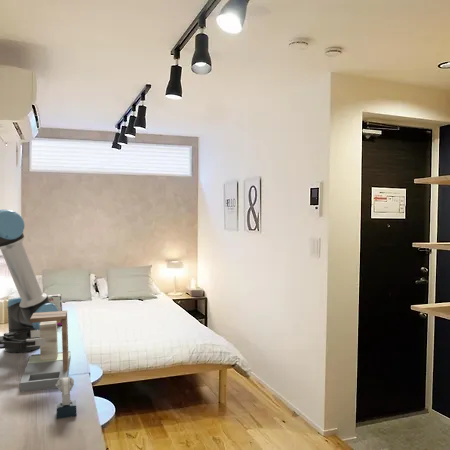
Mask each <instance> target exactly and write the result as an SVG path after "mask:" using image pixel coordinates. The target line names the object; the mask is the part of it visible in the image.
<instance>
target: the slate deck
mask: <svg viewBox="0 0 450 450" xmlns="http://www.w3.org/2000/svg"><path fill="white" fill-rule="evenodd" d="M68 356H69V363H68V370H67V371H63V351H58V357H57V359H52V360H42V361H41V355H40V353H38V354H31V355H30V357H29V359H28V361H27V365H26V366H25V369H24V372H23V375H22V376H21V379H20V382H19V392H20V393H22V392H30V391H31V392H32V391H39V390H48V389H56V388H57V389H58V387H56V384H57V382H58V380H59V379H61V378H63V377H69V372H70V366H71V365H70V364H71V351H70V350H68Z"/></svg>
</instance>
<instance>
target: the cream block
mask: <svg viewBox="0 0 450 450" xmlns="http://www.w3.org/2000/svg"><path fill="white" fill-rule="evenodd" d="M40 338H45V345H43V346H40V348H39V349H40V351H39V352H40V353H39V354H40V355H41V361H42V360H52V359H57V357H58V352H59V350H58V349H59V348H58V347H59V346H58V326H57V321H48V322H41V323H40Z"/></svg>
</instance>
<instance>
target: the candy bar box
mask: <svg viewBox="0 0 450 450" xmlns="http://www.w3.org/2000/svg"><path fill="white" fill-rule="evenodd" d="M47 296H48V299H49V301H50V303H53V304H54V305H55V306H56V307H57V309H58V311H63V297H62V294H61V293H60V294H58V293H57V294H50V295H49V294H47ZM61 325H62V320H61V321H57V327H60V326H61ZM61 327H62V326H61Z"/></svg>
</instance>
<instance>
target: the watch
mask: <svg viewBox="0 0 450 450" xmlns="http://www.w3.org/2000/svg"><path fill="white" fill-rule="evenodd" d="M74 385H75V380H74V378H72V377H71V376H68V377H63V378H61V379H59V380H58V382H57V384H56V387H58V388H57V389H58V391H59V392H60V393H61V401H60V402H56V420H59V419H64V418H70V417H71V416H72V417H76V416H77V400H76V399H74V400H73V399H71V391H72V389H73V388H74Z"/></svg>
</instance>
